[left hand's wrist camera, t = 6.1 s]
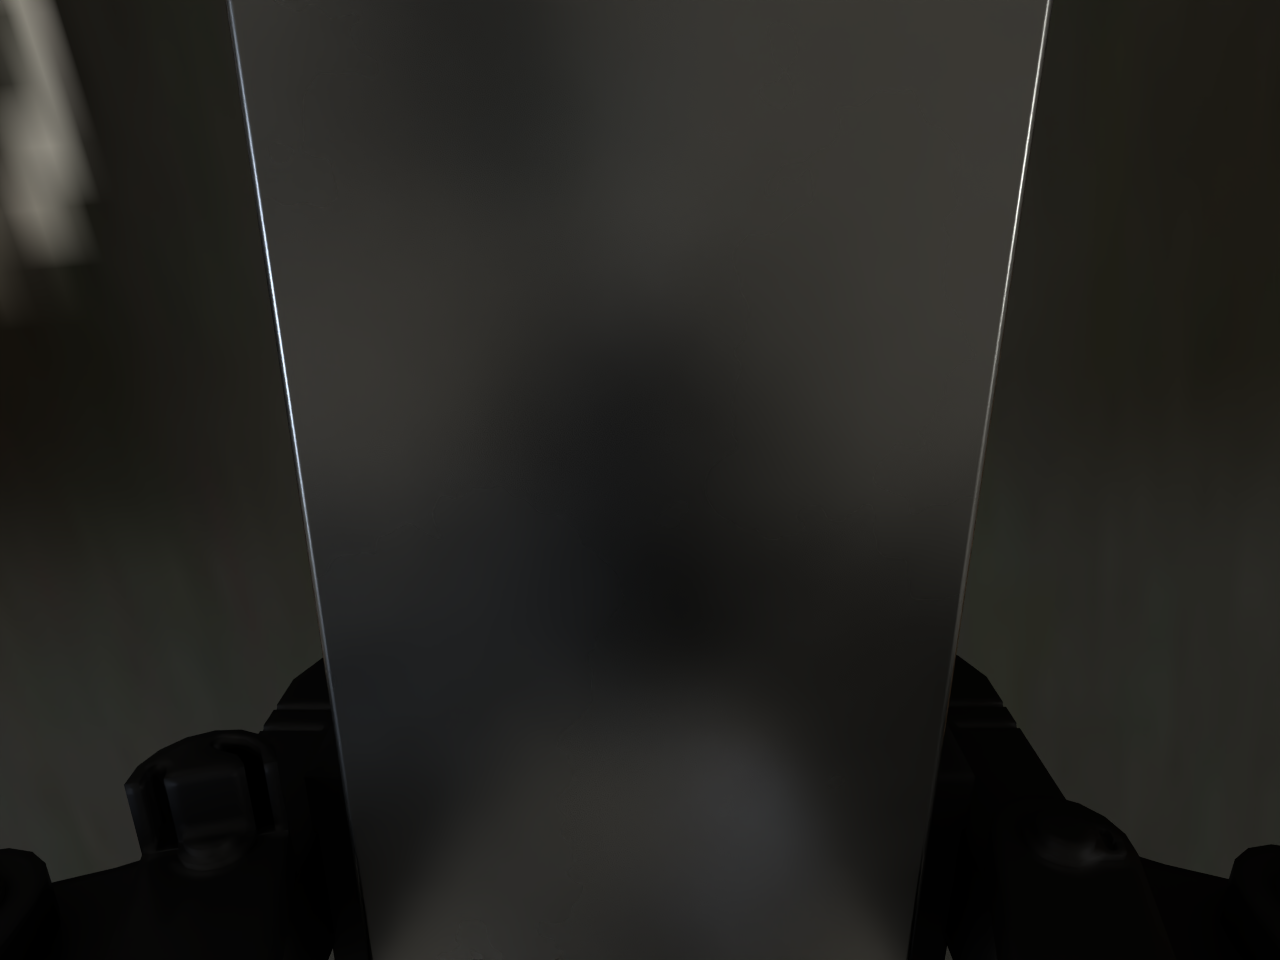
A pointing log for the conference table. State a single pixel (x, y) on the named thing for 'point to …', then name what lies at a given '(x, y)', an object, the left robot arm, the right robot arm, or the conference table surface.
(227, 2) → the bar
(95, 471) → the conference table surface
